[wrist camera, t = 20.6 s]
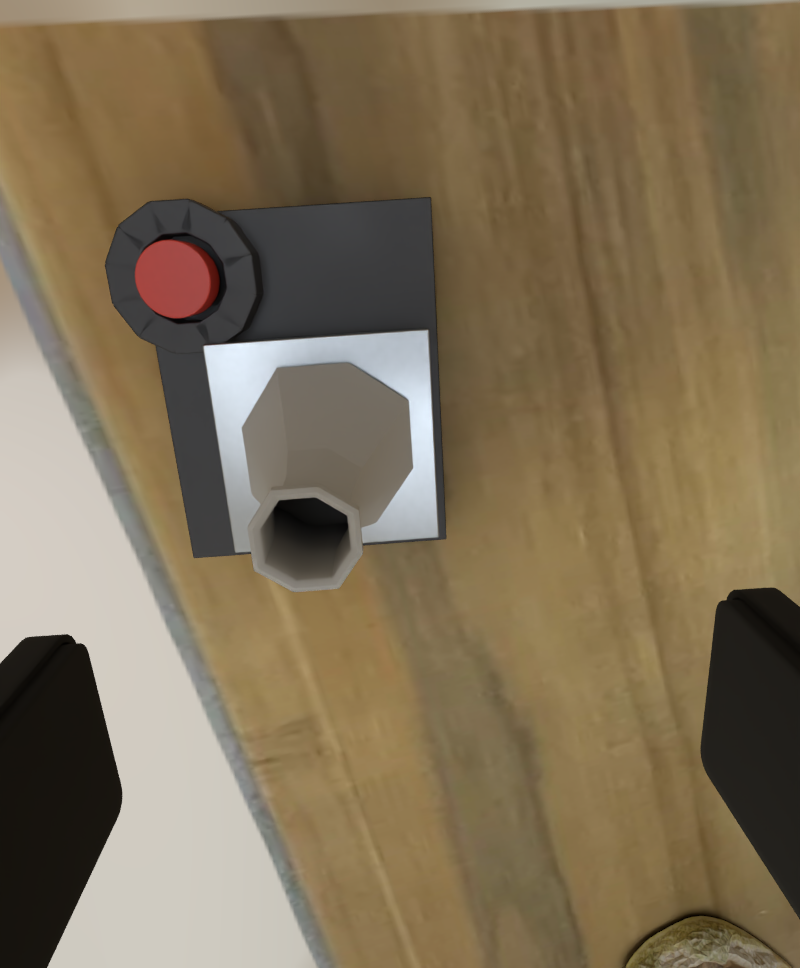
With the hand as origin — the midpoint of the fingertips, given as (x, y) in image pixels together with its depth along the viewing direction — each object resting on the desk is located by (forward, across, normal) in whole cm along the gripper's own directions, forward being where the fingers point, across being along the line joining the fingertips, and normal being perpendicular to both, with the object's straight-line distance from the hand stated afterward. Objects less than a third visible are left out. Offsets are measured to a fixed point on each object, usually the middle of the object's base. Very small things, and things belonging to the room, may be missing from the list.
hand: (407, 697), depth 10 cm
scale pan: (+19, +3, +1) cm, 19 cm away
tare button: (+19, +8, -6) cm, 21 cm away
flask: (+18, +3, +1) cm, 19 cm away
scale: (+22, +4, -1) cm, 22 cm away
